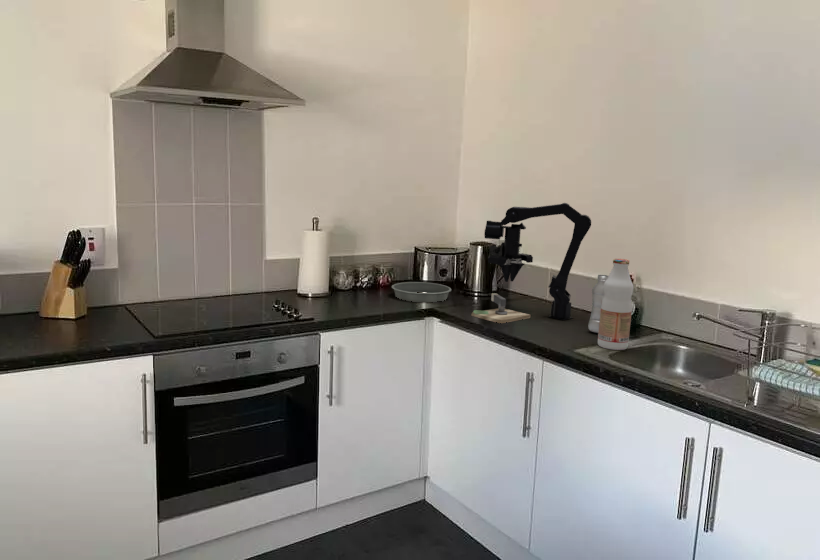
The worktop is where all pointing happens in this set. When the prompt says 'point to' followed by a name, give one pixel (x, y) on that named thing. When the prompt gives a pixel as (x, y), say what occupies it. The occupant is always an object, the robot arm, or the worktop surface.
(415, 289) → the cake pan
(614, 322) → the fruit juice
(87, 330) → the worktop surface
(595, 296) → the plastic bottle
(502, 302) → the peg
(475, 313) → the beige flat board
